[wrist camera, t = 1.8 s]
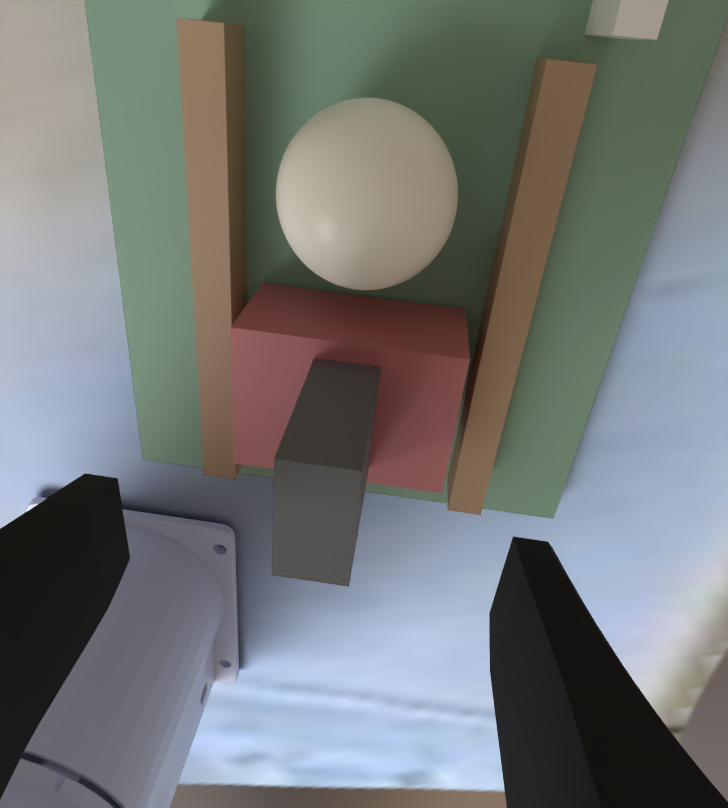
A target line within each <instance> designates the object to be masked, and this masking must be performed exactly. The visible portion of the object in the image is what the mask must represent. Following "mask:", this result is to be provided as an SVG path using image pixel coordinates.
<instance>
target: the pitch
mask: <svg viewBox="0 0 728 808" xmlns="http://www.w3.org/2000/svg"><path fill="white" fill-rule="evenodd" d="M592 2H593V0H85V7H86V15H87V23H88V31H89V39H90V47H91V55H92V63H93V71H94V78H95V86H96V94H97V102H98V110H99V118H100V126H101V134H102V142H103V150H104V157H105V165H106V173H107V181H108V189H109V197H110V205H111V213H112V221H113V229H114V237H115V244H116V252H117V260H118V268H119V276H120V284H121V292H122V300H123V308H124V316H125V323H126V331H127V339H128V347H129V355H130V363H131V371H132V379H133V387H134V395H135V403H136V410H137V418H138V426H139V434H140V442H141V450H142V458H143V460H150V461H157V462H164V463H171V464H178V465H185V466H191V467H198V468H203V469H204V475H208V476H215V477H222V478H229V479H236V477H237V475H238V473H240V474H247V475H254V476H261V477H268V478H274V469H268V468H261V467H254V466H248V465H241V464H234V449H233V411H232V373H231V336H230V327H231V326H232V324H233V323H234V322H235V320H236V319H237V318H238V316H239V315H240V313H241V312H242V311H243V309H244V308H245V306H246V305H247V304H248V302H249V301H250V300H251V298H252V297H253V295H254V294H255V293H256V291H257V290H258V288H259V287H260V286H261V284H262V283H268V284H276V285H284V286H292V287H299V288H307V289H315V290H322V291H330V292H338V293H346V294H353V295H361V296H369V297H376V298H384V299H392V300H400V301H407V302H415V303H423V304H430V305H438V306H446V307H454V308H461V309H466V320H467V331H468V343H469V354H470V362H469V367H468V371H467V376H466V381H465V386H464V390H463V395H462V400H461V405H460V409H459V414H458V419H457V424H456V429H455V433H454V438H453V443H452V448H451V452H450V457H449V462H448V467H447V471H446V476H445V481H444V486H443V490H442V493H436V492H429V491H422V490H415V489H408V488H401V487H394V486H387V485H380V484H373V483H366V487H365V492H372V493H379V494H386V495H393V496H400V497H407V498H414V499H421V500H428V501H435V502H441V503H448V510H451V511H458V512H464V513H471V514H478V515H480V514H481V511H482V508H483V509H490V510H497V511H504V512H511V513H518V514H525V515H532V516H539V517H546V518H554V515H555V512H556V509H557V506H558V504H559V501H560V498H561V495H562V492H563V489H564V486H565V483H566V480H567V478H568V475H569V472H570V469H571V466H572V463H573V460H574V457H575V455H576V452H577V449H578V446H579V443H580V440H581V437H582V434H583V431H584V429H585V426H586V423H587V420H588V417H589V414H590V411H591V408H592V405H593V403H594V400H595V397H596V394H597V391H598V388H599V385H600V382H601V380H602V377H603V374H604V371H605V368H606V365H607V362H608V359H609V356H610V354H611V351H612V348H613V345H614V342H615V339H616V336H617V333H618V330H619V328H620V325H621V322H622V319H623V316H624V313H625V310H626V307H627V305H628V302H629V299H630V296H631V293H632V290H633V287H634V284H635V281H636V279H637V276H638V273H639V270H640V267H641V264H642V261H643V258H644V255H645V253H646V250H647V247H648V244H649V241H650V238H651V235H652V232H653V230H654V227H655V224H656V221H657V218H658V215H659V212H660V209H661V206H662V204H663V201H664V198H665V195H666V192H667V189H668V186H669V183H670V181H671V178H672V175H673V172H674V169H675V166H676V163H677V160H678V157H679V155H680V152H681V149H682V146H683V143H684V140H685V137H686V134H687V131H688V129H689V126H690V123H691V120H692V117H693V114H694V111H695V108H696V106H697V103H698V100H699V97H700V94H701V91H702V88H703V85H704V82H705V80H706V77H707V74H708V71H709V68H710V65H711V62H712V59H713V56H714V54H715V51H716V48H717V45H718V42H719V39H720V36H721V33H722V31H723V28H724V25H725V22H726V19H727V16H728V0H669V1H668V4H667V8H666V11H665V14H664V18H663V21H662V24H661V28H660V31H659V34H658V38H657V40H645V39H617V38H608V37H599V36H590V35H585V31H586V27H587V22H588V18H589V14H590V10H591V6H592ZM365 97H366V98H380V99H385V100H390V101H393V102H396V103H399V104H402V105H404V106H405V107H407V108H409V109H411V110H413V111H414V112H416V113H417V114H419V115H420V116H421V117H423V118H424V119H425V120H426V121H427V122H428V123H429V124H430V125H431V126H432V127H433V128H434V129H435V130H436V132H437V133H438V134H439V135H440V137H441V139H442V140H443V142H444V143H445V145H446V147H447V149H448V151H449V153H450V156H451V158H452V160H453V164H454V167H455V171H456V176H457V183H458V203H457V211H456V216H455V220H454V224H453V227H452V229H451V232H450V235H449V237H448V239H447V241H446V242H445V244H444V246H443V248H442V249H441V250H440V252H439V253H438V255H437V256H436V257H435V258H434V259H433V260H432V261H431V263H430V264H429V265H428V266H427V267H425V268H424V269H423V270H422V271H421V272H420V273H418V274H417V275H415V276H414V277H412V278H410V279H409V280H406V281H404V282H402V283H400V284H397V285H394V286H391V287H388V288H383V289H377V290H355V289H350V288H345V287H342V286H339V285H336V284H333V283H331V282H329V281H327V280H325V279H323V278H322V277H320V276H319V275H317V274H315V273H314V272H313V271H312V270H311V269H309V268H308V267H307V266H306V265H305V264H304V263H303V262H302V261H301V260H300V259H299V257H298V256H297V255H296V254H295V252H294V251H293V249H292V248H291V246H290V244H289V243H288V241H287V239H286V237H285V234H284V232H283V230H282V227H281V224H280V221H279V217H278V212H277V206H276V184H277V176H278V172H279V167H280V164H281V161H282V158H283V155H284V153H285V151H286V149H287V147H288V145H289V143H290V142H291V140H292V139H293V137H294V136H295V134H296V133H297V132H298V130H299V129H300V128H301V127H302V126H303V125H304V124H305V123H306V122H307V121H308V120H309V119H310V118H312V117H313V116H314V115H315V114H316V113H318V112H320V111H321V110H323V109H325V108H326V107H328V106H331V105H333V104H335V103H338V102H341V101H345V100H349V99H355V98H365Z"/></svg>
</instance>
